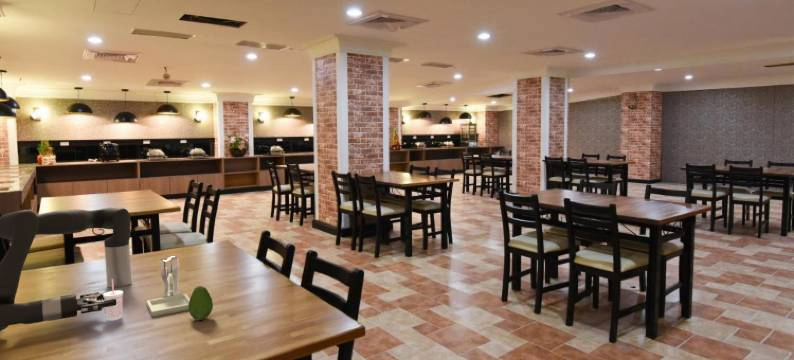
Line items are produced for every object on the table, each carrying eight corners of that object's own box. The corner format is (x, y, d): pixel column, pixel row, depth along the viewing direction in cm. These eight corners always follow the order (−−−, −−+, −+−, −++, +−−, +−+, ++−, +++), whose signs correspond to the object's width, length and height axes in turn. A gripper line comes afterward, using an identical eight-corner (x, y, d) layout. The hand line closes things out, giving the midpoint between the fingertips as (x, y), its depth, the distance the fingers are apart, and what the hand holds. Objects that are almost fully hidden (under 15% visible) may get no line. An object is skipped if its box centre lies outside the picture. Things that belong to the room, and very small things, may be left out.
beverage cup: (104, 322, 170) (101, 282, 169) (105, 316, 176) (102, 278, 174) (124, 319, 173) (122, 280, 172) (124, 313, 179) (122, 275, 177)
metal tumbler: (173, 298, 194) (171, 261, 193) (158, 297, 196) (155, 260, 194) (184, 292, 201) (182, 256, 200) (169, 291, 203) (167, 255, 201)
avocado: (198, 325, 167) (197, 290, 166) (184, 320, 171) (182, 287, 170) (218, 317, 174) (216, 284, 173) (204, 313, 178) (202, 281, 177)
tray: (146, 305, 186) (146, 300, 186) (186, 298, 194) (185, 293, 194) (152, 317, 175) (151, 311, 175) (193, 309, 183) (193, 303, 182)
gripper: (58, 303, 159) (116, 293, 168) (59, 291, 171) (113, 282, 180) (60, 325, 160) (117, 314, 169) (60, 312, 171) (114, 302, 180)
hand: (115, 298), depth 174 cm, fingers open, 8 cm apart
